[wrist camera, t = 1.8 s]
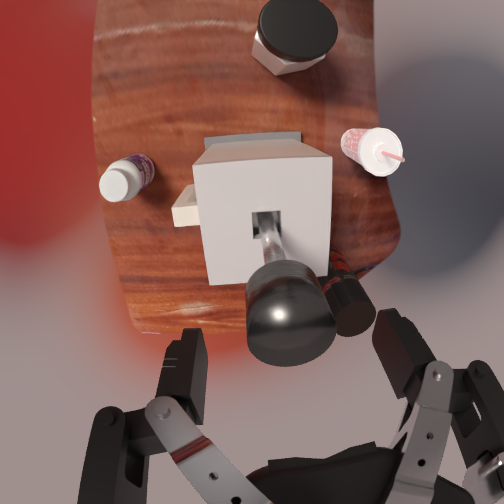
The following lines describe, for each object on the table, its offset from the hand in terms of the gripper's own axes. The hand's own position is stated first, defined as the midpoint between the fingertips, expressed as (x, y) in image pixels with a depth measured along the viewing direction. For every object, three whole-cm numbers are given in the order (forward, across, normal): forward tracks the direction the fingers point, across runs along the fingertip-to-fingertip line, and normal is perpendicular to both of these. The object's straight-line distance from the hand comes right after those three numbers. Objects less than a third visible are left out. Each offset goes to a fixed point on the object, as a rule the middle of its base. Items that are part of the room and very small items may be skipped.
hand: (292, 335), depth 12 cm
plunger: (+15, 0, 0) cm, 15 cm away
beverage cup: (+32, -15, -5) cm, 35 cm away
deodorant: (+32, -11, +15) cm, 37 cm away
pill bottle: (+32, +17, -3) cm, 36 cm away
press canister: (+31, +1, 0) cm, 32 cm away
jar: (+32, -5, -19) cm, 37 cm away
